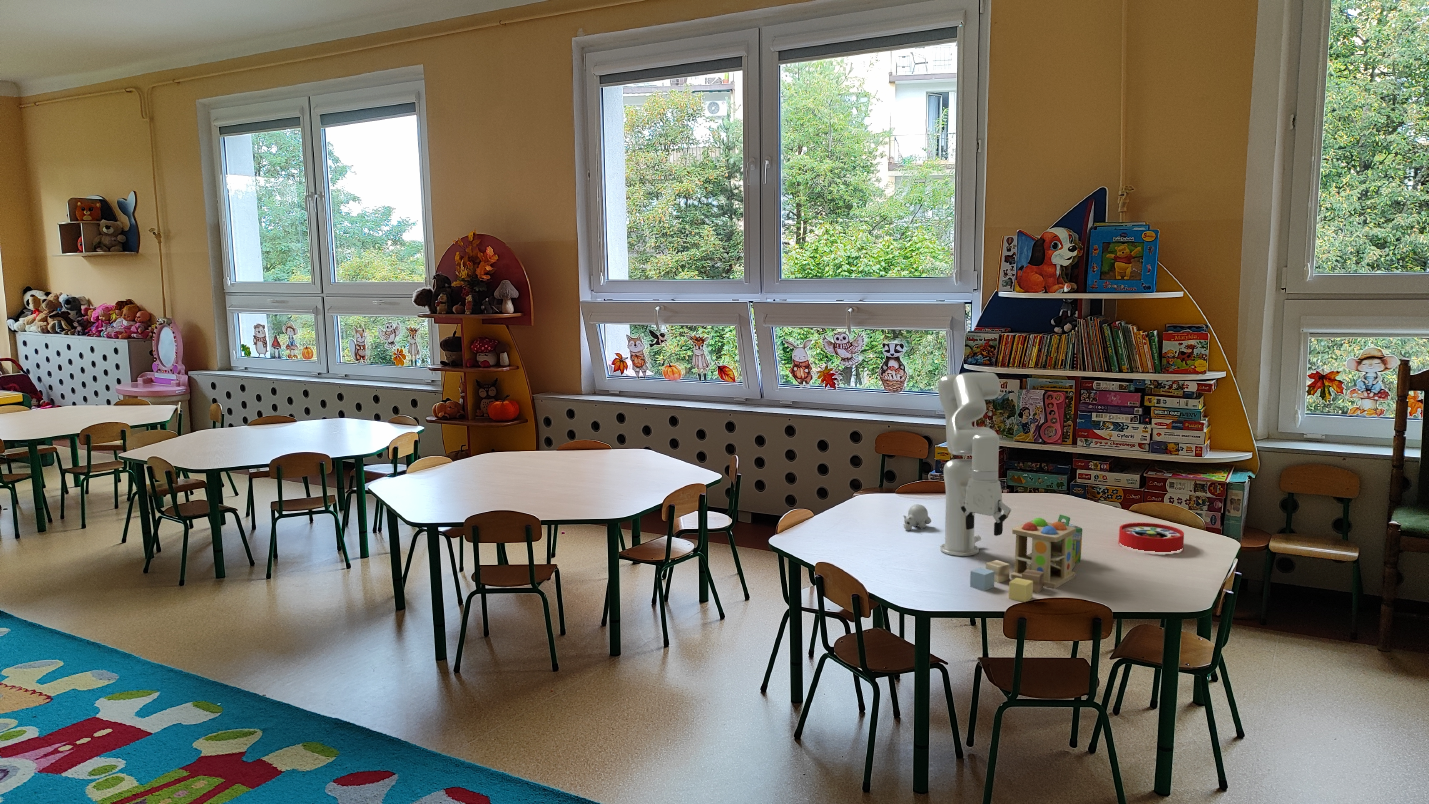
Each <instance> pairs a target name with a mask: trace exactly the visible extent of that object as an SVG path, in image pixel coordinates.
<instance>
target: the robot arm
mask: <svg viewBox="0 0 1429 804" xmlns="http://www.w3.org/2000/svg"><path fill="white" fill-rule="evenodd" d="M937 391H938V392H937V393H938V398H939V400H940V404H941V406H942V408H943V411H944V416H945V429H946V430H945V432H946V433H945V434H946V435H945V436H946V447H947V450H948V452H949V454H951V455H954V456H971V458H955V459H950V460H949V461H947V462H946V463H944V465H943V466H944V467H943V480H944V485H945V487H944V488H945V523H944V525H945V534H944V535H945V537H944V543H943V544H941V545H940V547H939V548H940V551H941V552H942V553H944V554H946V555H951V556H957V557H968V556H974V555H977V554H978V553H979V552H980V551H979V547H978V546H977V545H976V544H977V542H980V541H981V540H982V536H980V535H976V536H975V524H976V523H975V519H976V516H975V514H979V515H982V516H983V515H984V516H988V517H989V516H990V517H991V516H992V517H993V519H994V521H995V522H994V523H993V535H994V536H995V537H998V536H1000V535H1003V530H1004V529H1003V524H1004V522H1005V520H1007V518H1009V515H1010V513H1011V512H1012V509H1011V508H1010V506H1008V505H1006V504H1005V503H1004V502H1003V494H1002V486H1001V485H1002V484H1001V481H1000V480H999V451H1000V450H999V449H1000V435H998V434H997V432H996V431H995V430H993V429H992V428H990V427H987V426H973V424H972V423H973V422H975V421H977V420H979V419H981V418H982V417H984V415H985V414H986V411H987V405H986V401H985V400H994V399H996V398H998V397H999V395H1000V394H1001V382H1000V379H999V377H998V376H997V374H996V373H994V372H987V371H985V372H962V373H959V374H947V375H944V376H942V377H941V378H940V379H939V381H938V384H937ZM1002 511H1003V514H1002Z"/></svg>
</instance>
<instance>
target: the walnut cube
mask: <svg viewBox="0 0 1429 804" xmlns="http://www.w3.org/2000/svg"><path fill="white" fill-rule="evenodd" d="M1022 579H1025V580H1030V581H1033V593H1037V594H1038V593H1040V592H1041V591H1042V590H1043V589H1044V587H1045V586H1044V572H1041V571H1035V570H1029V569H1027V570H1026V571H1024V572H1023V573H1022Z"/></svg>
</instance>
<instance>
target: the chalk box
mask: <svg viewBox="0 0 1429 804" xmlns="http://www.w3.org/2000/svg"><path fill="white" fill-rule="evenodd" d="M1062 520H1065V521H1062ZM1057 522H1062V523H1064V524H1065V526H1070V527H1075V528H1076V533H1074V534H1073V548H1072V558H1073V559H1074V562H1076V563H1081V562H1080V561H1082V560H1081V559H1082V543H1083V542H1082V540H1083V528H1082V527H1081V526H1078V525H1075V524H1072V523H1070V522H1071V517H1070V516H1067V515H1064V514H1059V515H1058V519H1057ZM1055 555H1057V554H1055ZM1054 564H1055V562H1054Z"/></svg>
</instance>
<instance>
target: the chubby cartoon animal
mask: <svg viewBox="0 0 1429 804" xmlns="http://www.w3.org/2000/svg"><path fill="white" fill-rule="evenodd" d="M907 512H908V513H907V515H903V518H904V521H903V522H904V523H903V528H904V530H906V531H907V530H909V531H910V530H912V529H913V528H917V527H919V529H921V528H923V529H926V527H927V525H929V524H931V523H932V520H931V518H930V516H929V512H928V509H927V508H926V506H925V505H922V504H919V503H917V504H913V505H912V506H910V507H909V508H908V511H907ZM914 526H915V527H914ZM916 526H917V527H916Z"/></svg>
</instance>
